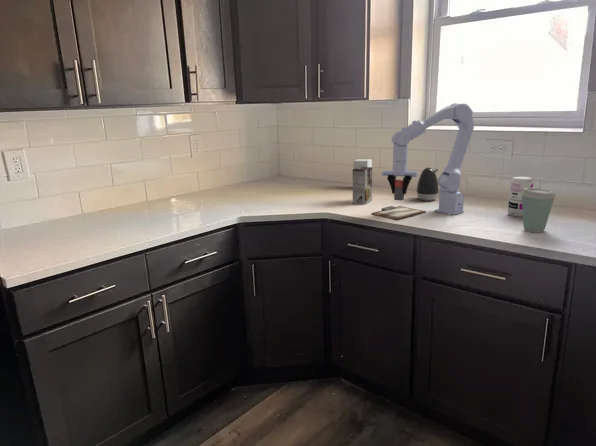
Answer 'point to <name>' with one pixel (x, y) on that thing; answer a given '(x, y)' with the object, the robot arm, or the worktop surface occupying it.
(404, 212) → the clipboard
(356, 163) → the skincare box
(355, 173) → the coffee box
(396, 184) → the marker
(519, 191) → the supplement can
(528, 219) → the disposable coffee cup
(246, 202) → the worktop surface
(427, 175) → the pump dispenser
